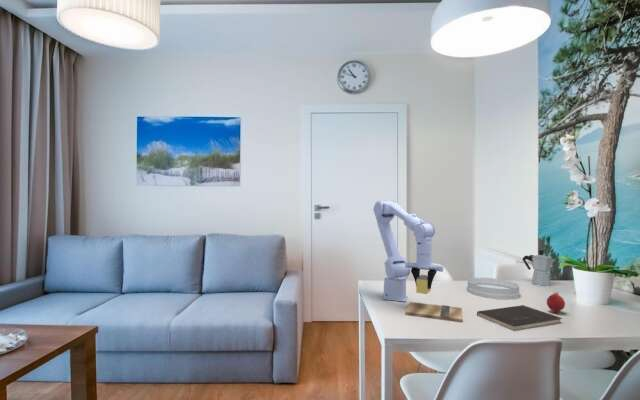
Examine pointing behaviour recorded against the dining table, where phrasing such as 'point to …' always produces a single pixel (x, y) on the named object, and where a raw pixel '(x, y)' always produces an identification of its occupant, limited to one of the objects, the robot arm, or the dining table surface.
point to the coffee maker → (540, 268)
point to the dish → (493, 288)
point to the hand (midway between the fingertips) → (423, 287)
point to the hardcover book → (519, 317)
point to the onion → (555, 302)
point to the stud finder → (422, 284)
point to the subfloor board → (434, 311)
